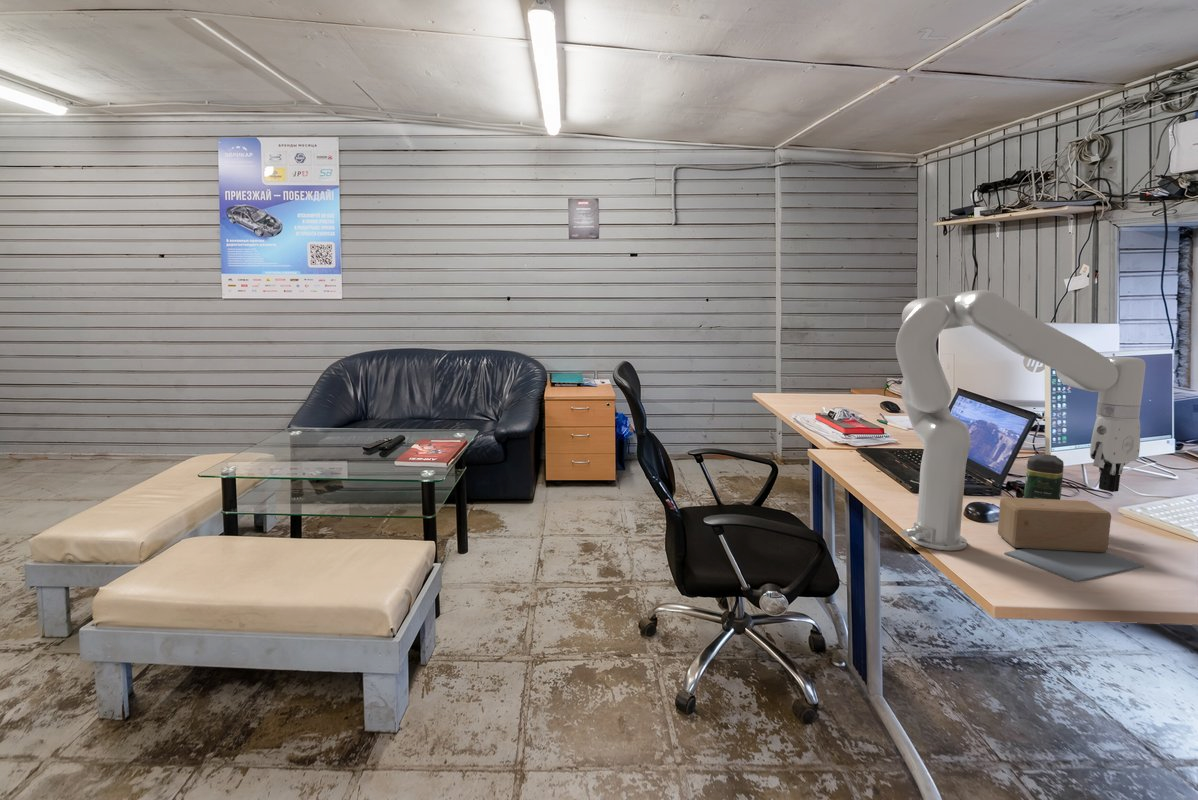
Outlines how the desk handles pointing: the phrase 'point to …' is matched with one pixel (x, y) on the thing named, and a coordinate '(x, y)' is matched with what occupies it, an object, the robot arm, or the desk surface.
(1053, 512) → the wooden block
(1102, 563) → the mat
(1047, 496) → the coffee jar
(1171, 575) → the desk surface
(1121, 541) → the desk surface
